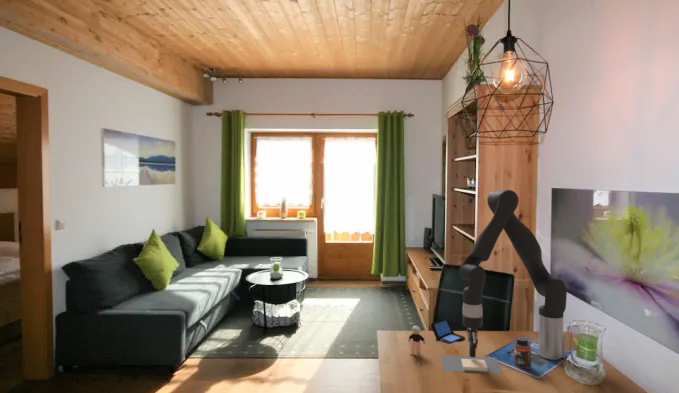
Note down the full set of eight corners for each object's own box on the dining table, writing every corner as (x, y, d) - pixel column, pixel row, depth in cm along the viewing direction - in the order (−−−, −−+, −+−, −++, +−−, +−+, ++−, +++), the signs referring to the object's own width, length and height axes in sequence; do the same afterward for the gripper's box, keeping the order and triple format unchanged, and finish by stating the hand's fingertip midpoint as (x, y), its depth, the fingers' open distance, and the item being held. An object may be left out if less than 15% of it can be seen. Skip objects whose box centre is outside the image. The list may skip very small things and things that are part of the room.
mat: (495, 359, 171) (495, 357, 170) (503, 376, 157) (503, 374, 157) (440, 356, 174) (440, 354, 174) (443, 372, 161) (443, 370, 161)
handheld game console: (449, 346, 185) (449, 330, 184) (430, 339, 193) (429, 323, 193) (466, 339, 192) (466, 323, 192) (446, 332, 201) (446, 317, 200)
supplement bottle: (529, 364, 166) (530, 336, 165) (531, 371, 160) (531, 342, 160) (513, 362, 168) (513, 334, 167) (514, 369, 162) (514, 340, 162)
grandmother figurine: (406, 356, 175) (406, 326, 175) (408, 352, 179) (407, 323, 178) (425, 358, 173) (425, 328, 172) (426, 354, 177) (426, 325, 176)
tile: (484, 359, 165) (487, 368, 158) (484, 363, 165) (487, 372, 158) (461, 358, 167) (463, 366, 160) (461, 362, 167) (463, 370, 160)
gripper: (485, 320, 158) (484, 364, 159) (479, 308, 171) (479, 350, 172) (464, 319, 159) (464, 363, 160) (460, 308, 172) (460, 349, 173)
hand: (472, 356), depth 166 cm, fingers closed
